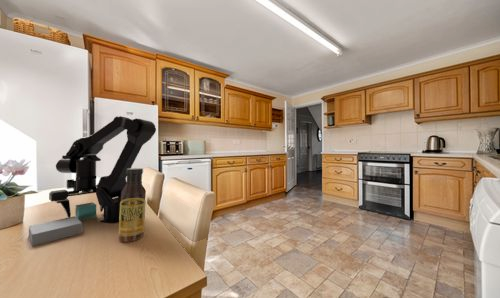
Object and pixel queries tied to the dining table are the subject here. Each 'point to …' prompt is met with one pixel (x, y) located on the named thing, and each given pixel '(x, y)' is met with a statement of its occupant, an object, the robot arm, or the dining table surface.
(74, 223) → the gray plinth
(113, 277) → the dining table surface
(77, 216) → the teal cube
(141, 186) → the sauce bottle
